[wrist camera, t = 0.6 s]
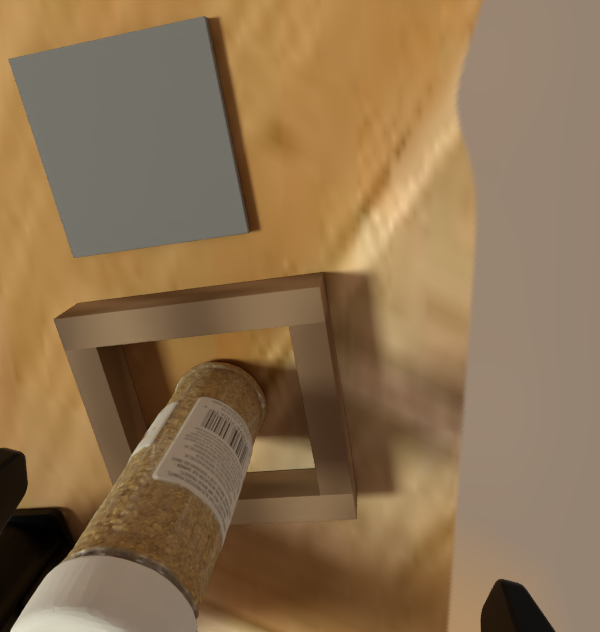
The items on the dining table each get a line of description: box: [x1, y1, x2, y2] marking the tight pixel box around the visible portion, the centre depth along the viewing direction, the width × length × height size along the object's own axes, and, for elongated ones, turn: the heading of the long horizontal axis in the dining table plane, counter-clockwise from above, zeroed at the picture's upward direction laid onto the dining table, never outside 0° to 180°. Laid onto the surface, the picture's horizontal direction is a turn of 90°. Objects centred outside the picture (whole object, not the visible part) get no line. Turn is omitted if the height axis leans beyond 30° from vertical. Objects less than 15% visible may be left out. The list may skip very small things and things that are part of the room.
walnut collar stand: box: [54, 272, 357, 525], centre depth 24 cm, size 12×12×2 cm
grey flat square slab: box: [9, 16, 250, 258], centre depth 21 cm, size 8×8×1 cm
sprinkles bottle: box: [10, 362, 266, 632], centre depth 19 cm, size 5×5×13 cm
